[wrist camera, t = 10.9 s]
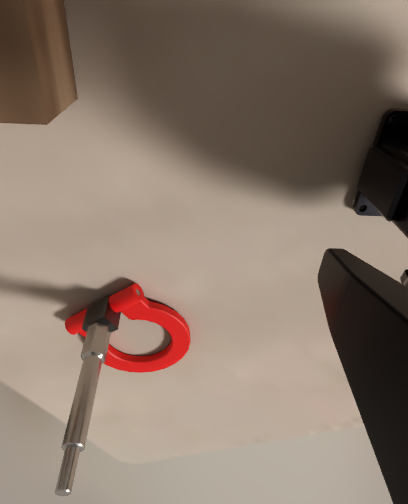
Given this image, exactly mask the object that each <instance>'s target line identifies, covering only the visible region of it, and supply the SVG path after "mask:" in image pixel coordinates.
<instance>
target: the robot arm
mask: <svg viewBox="0 0 408 504" xmlns="http://www.w3.org/2000/svg"><path fill="white" fill-rule="evenodd" d="M394 115H395V119H394V121H392V122H390V123H389V120H390V118H391V117H392V116H394ZM357 188H358V193H357V196H356V199H355V202H354V205H353V209H354V211H355V212H356V213H357V214H358V215H365V216H384V218H385V219H386V220H387V221H392V222H393V223H394V224H395V225H396V226H397V227H398V228H399V229H400V230H401V231H402V232H403V233H404V235H405V236H406V237H407V238H408V109H390V110H388V111H386V112H385V113H384V115H383V117H382V119H381V122H380V125H379V128H378V131H377V134H376V137H375V140H374V144H373V146H372V147H371V148H370V149H369V151H368V154H367V157H366V161H365V164H364V167H363V170H362V173H361V176H360V179H359V182H358V185H357ZM362 205H365V206H364V208H362V209H359V208H360V207H361V206H362ZM400 279H401V283H402V284H401V283H399V282H398V281H396V280H394V279H393V278H391V277H389V276H388V275H386V274H384V273H383V272H381V271H379V270H378V269H376V268H374V267H373V266H371V265H369V264H368V263H366V262H364V261H363V260H361V259H359V258H358V257H356V256H354V255H353V254H351V253H349V252H348V251H346V250H344V249H332V248H330V249H327V250H326V251H325V253H324V256H323V259H322V263H321V266H320V269H319V273H318V284H319V288H320V292H321V297H322V301H323V305H324V309H325V313H326V318H327V322H328V326H329V329H330V333H331V336H332V339H333V342H334V344H335V347H336V350H337V352H338V355H339V358H340V360H341V363H342V366H343V369H344V371H345V374H346V377H347V379H348V382H349V385H350V388H351V390H352V393H353V396H354V398H355V401H356V404H357V407H358V409H359V412H360V415H361V417H362V420H363V423H364V425H365V428H366V431H367V434H368V436H369V439H370V442H371V444H372V447H373V450H374V452H375V455H376V458H377V461H378V463H379V466H380V469H381V472H382V474H383V477H384V480H385V482H386V485H387V488H388V490H389V493H390V496H391V499H392V501H393V504H408V270H405V271H404V273H403V274H402V276H401V277H400Z"/></svg>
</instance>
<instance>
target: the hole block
mask: <svg viewBox="0 0 408 504" xmlns="http://www.w3.org/2000/svg"><path fill="white" fill-rule="evenodd" d="M76 99H78V98H77V91H76V84H75V77H74V70H73V63H72V57H71V50H70V43H69V36H68V29H67V22H66V15H65V8H64V1H63V0H0V123H18V124H42V125H47V124H48V123H50V122H51V121H52V120H53V119H54V118H55V117H57V116H58V115H59V114H60V113H61V112H62V111H64V110H65V109H66V108H67V107H68V106H69V105H71V104H72V103H73V102H74V101H75V100H76Z"/></svg>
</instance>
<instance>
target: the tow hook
mask: <svg viewBox="0 0 408 504" xmlns="http://www.w3.org/2000/svg"><path fill="white" fill-rule="evenodd" d="M121 312H122V313H123V314H124V315H125V316H126V317H128V318H129V319H132V320H136V319H138V320H147V321H151V322H155V323H157V324H159V325H161V326H163V327H164V328H165V329H166V330H167V331H168V332H169V334H170V335H171V338H172V340H171V342H170V344H169V345H168V347H167V348H165V349H164V350H163V351H161V352H159V353H157V354H153V355H149V356H132V355H128V354H124V353H122V352H119V351H117V350H116V349H114V348H113V347H112V346H111V345H110V344H109V339H110V335H111V332H113V331H115V330H117V329H118V325H119V319H120V314H121ZM65 327H66V329H67V331H68V332H69V333H70V334H73V335H74V334H77V333H80V334H81V335H82V336H84V337H85V341H84V345H83V349H82V352H81V358H82V360H83V364H82V368H81V372H80V376H79V380H78V384H77V388H76V392H75V396H74V400H73V404H72V408H71V412H70V415H69V419H68V423H67V427H66V431H65V435H64V440H63V444H62V449H63V450H64V451H65V452H64V456H63V460H62V464H61V468H60V473H59V477H58V481H57V485H56V489H55V493H56V495H59V496H68V495H69V494H71V491H72V486H73V482H74V477H75V471H76V467H77V462H78V458H79V453H80V452H81V451H83V450H84V448H85V443H86V438H87V433H88V428H89V423H90V418H91V413H92V408H93V403H94V398H95V393H96V388H97V383H98V378H99V374H100V369H101V364H102V363H104V364H106V365H108V366H110V367H113V368H115V369H119V370H123V371H128V372H152V371H157V370H160V369H164V368H167V367H169V366H171V365H173V364H175V363H176V362H178V361H179V360H180V359H181V358H183V356H184V355H185V354H186V352H187V351H188V349H189V345H190V331H189V327H188V325H187V323H186V321H185V320H184V318H183V317H182V316H180V315H179V314H178V313H177V312H176V311H174V310H172V309H171V308H169V307H167V306H165V305H162V304H158V303H155V302H151V301H148V300H147V299H146V298H145V297H144V293H143V291H142V289H141V287H140V286H139V285H138V284H133V285H131V286H129V287H127V288H125V289H123V290H121V291H119V292H117V293H115V294H113V295H109V296H107V297H105V298H103V299H101V300H99V301H97V302H95V303H93V304H91V305H90V306H88V308H87V309H85V310H83V311H81V312H79V313H77V314H75V315H73V316H71V317H70V318H68V319H66V321H65Z"/></svg>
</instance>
